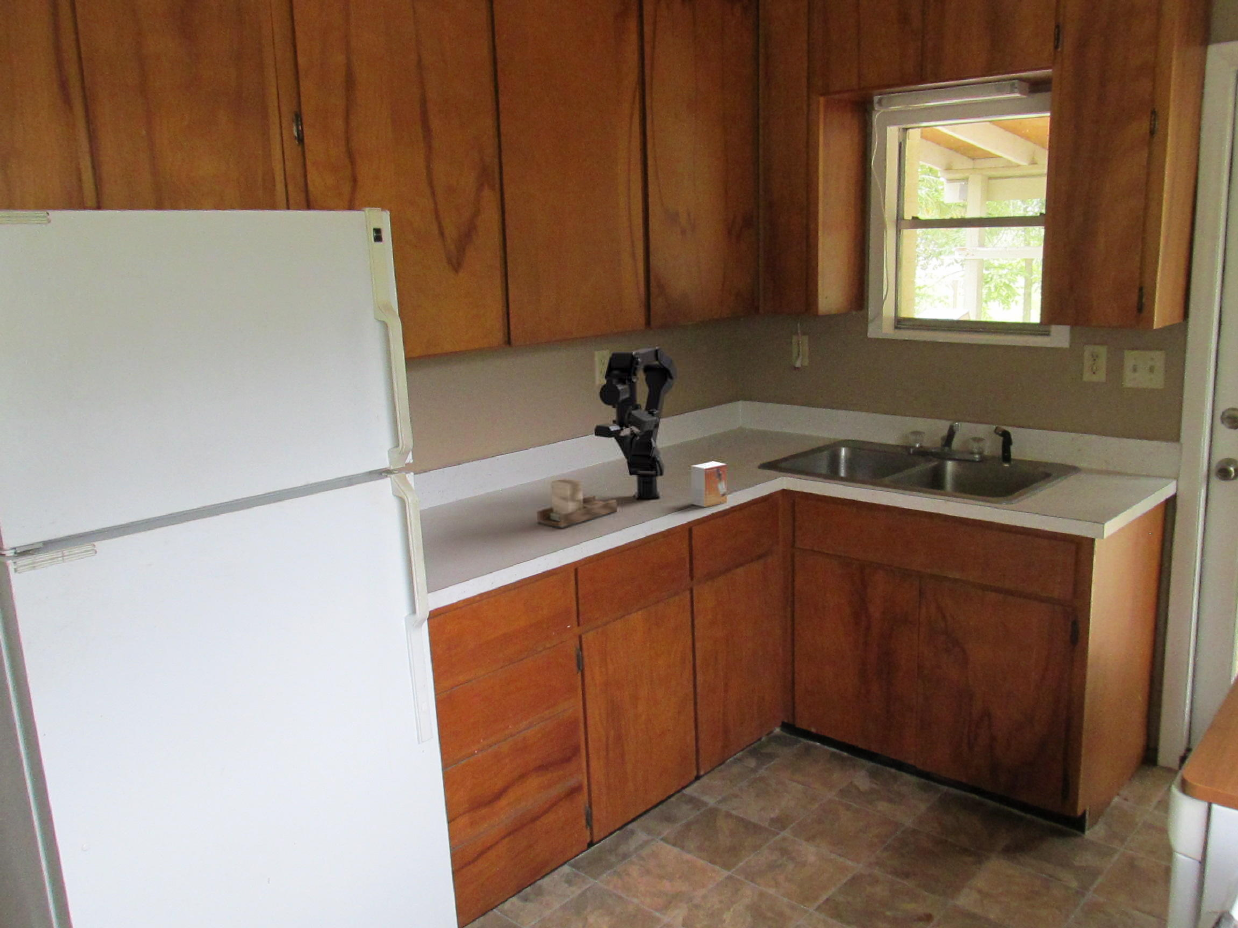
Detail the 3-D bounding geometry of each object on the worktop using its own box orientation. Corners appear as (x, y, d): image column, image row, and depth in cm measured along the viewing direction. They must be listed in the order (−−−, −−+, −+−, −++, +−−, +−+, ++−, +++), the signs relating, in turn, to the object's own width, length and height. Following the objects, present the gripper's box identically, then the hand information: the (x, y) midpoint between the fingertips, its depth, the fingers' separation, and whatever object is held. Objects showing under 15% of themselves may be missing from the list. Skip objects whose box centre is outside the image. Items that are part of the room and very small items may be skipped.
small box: (704, 508, 270) (703, 468, 268) (691, 504, 275) (690, 465, 272) (727, 502, 275) (727, 463, 273) (713, 498, 279) (713, 460, 277)
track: (592, 507, 276) (592, 495, 275) (616, 512, 270) (616, 500, 269) (537, 523, 262) (537, 511, 262) (562, 529, 256) (561, 516, 255)
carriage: (567, 508, 267) (565, 478, 265) (583, 511, 263) (581, 481, 261) (552, 512, 263) (551, 481, 262) (569, 516, 259) (567, 485, 258)
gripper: (623, 407, 256) (625, 469, 259) (673, 397, 269) (675, 456, 272) (591, 403, 263) (594, 463, 266) (642, 394, 276) (644, 452, 279)
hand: (628, 459), depth 271 cm, fingers closed
